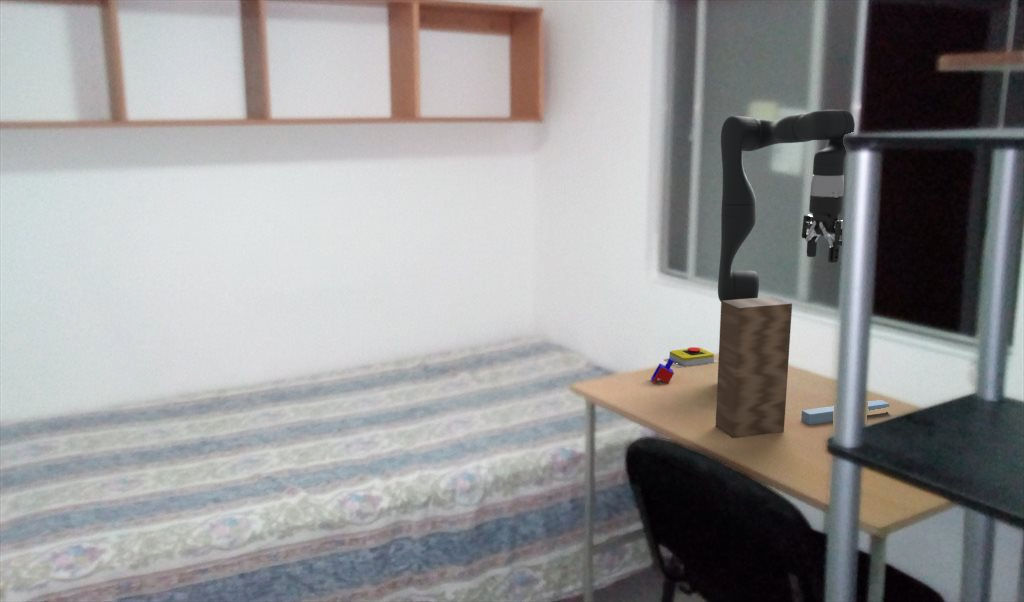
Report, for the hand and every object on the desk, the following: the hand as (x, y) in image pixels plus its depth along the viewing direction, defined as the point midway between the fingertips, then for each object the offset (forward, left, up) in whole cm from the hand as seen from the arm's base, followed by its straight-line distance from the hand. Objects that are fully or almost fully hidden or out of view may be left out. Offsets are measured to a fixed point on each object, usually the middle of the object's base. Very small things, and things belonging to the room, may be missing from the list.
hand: (821, 259), depth 199 cm
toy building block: (+12, -41, -40) cm, 59 cm away
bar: (-4, +7, -40) cm, 41 cm away
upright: (+22, -2, -40) cm, 46 cm away
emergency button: (-10, -50, -41) cm, 65 cm away
